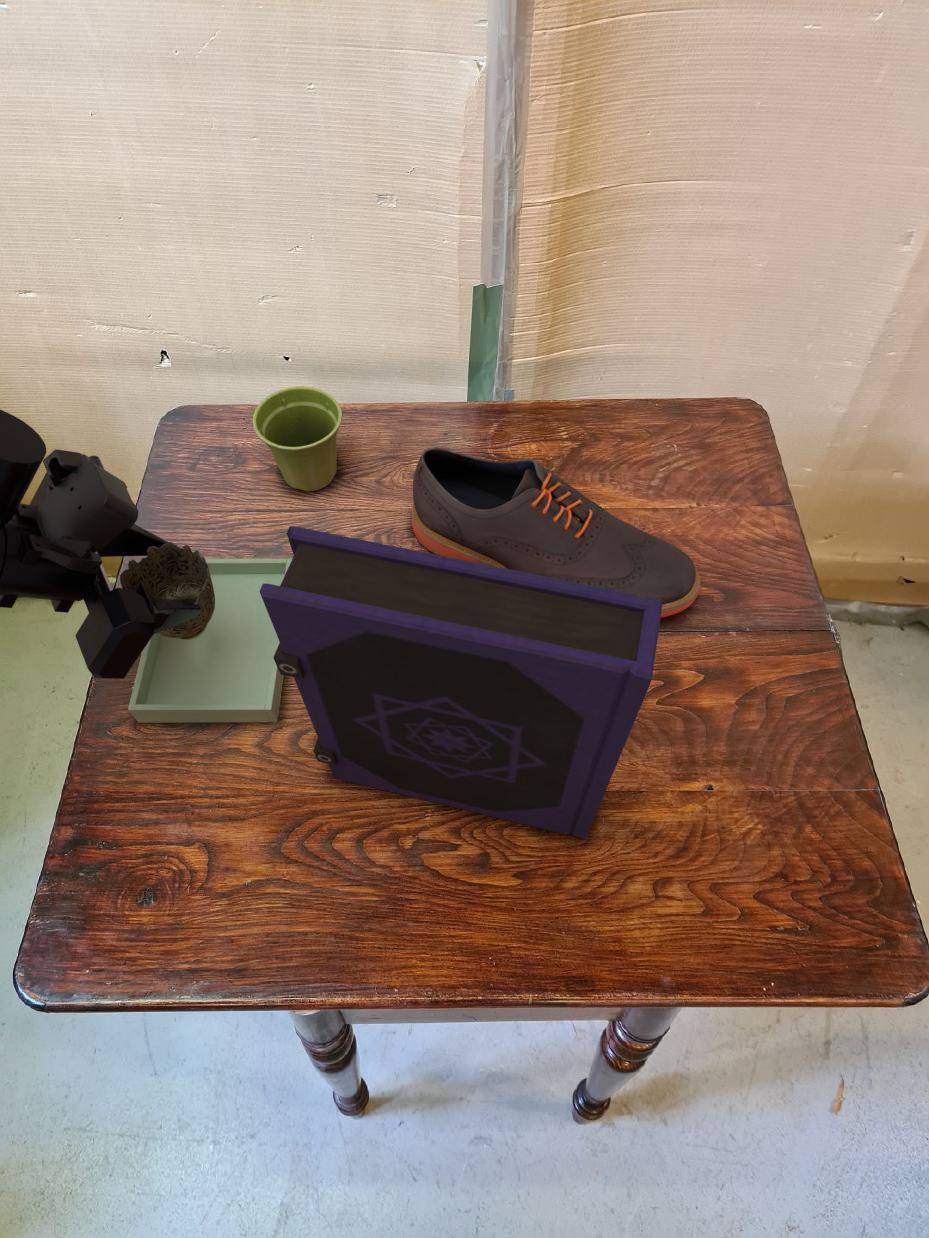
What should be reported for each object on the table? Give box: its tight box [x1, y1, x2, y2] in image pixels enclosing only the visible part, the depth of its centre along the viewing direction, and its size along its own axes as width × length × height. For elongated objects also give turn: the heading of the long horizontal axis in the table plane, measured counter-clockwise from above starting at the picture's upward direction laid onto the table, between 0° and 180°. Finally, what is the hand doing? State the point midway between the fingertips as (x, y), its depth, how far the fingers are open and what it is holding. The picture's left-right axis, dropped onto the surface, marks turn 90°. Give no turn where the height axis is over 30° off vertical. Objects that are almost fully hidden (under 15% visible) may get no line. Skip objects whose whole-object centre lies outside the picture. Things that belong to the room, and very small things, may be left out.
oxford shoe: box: [411, 446, 702, 618], centre depth 80 cm, size 11×31×11 cm, turn 69°
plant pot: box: [252, 385, 343, 492], centre depth 88 cm, size 9×9×9 cm
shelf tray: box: [127, 557, 293, 724], centre depth 78 cm, size 13×17×3 cm
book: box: [259, 525, 663, 840], centre depth 59 cm, size 24×6×30 cm, turn 76°
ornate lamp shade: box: [119, 541, 215, 640], centre depth 71 cm, size 8×7×8 cm
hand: (183, 579), depth 69 cm, fingers closed on ornate lamp shade, 7 cm apart
